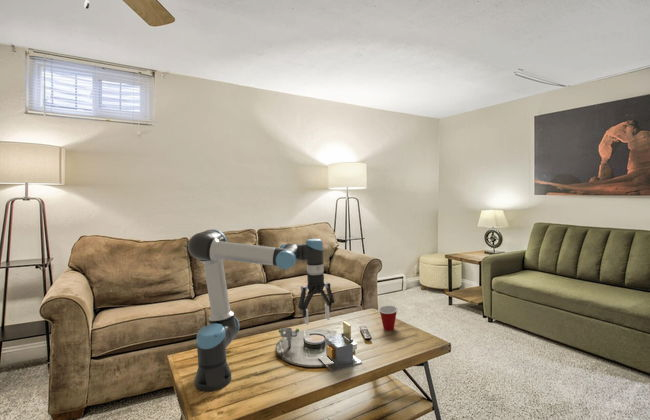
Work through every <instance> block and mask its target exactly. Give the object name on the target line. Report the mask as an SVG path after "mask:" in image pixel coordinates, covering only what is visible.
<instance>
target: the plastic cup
mask: <svg viewBox="0 0 650 420" xmlns="http://www.w3.org/2000/svg"><path fill="white" fill-rule="evenodd" d="M378 312H379V314H380V319H381V323H382V327H383V330H384V331H387V332H390V331H391V332H392V331H394V329H395V325H396V318H397V317H396V316H397V312H398V308H397V306H393V305H383V306H380V307H379V308H378Z"/></svg>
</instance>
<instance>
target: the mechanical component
mask: <svg viewBox="0 0 650 420" xmlns="http://www.w3.org/2000/svg"><path fill="white" fill-rule="evenodd" d="M299 332H300V329H299V328H295V330H293V329H292V327H280V329H278V333H280V337H281V338H286V340H287V348H288V347H291V348H292V338H296V337H297V336H298V333H299Z"/></svg>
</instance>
